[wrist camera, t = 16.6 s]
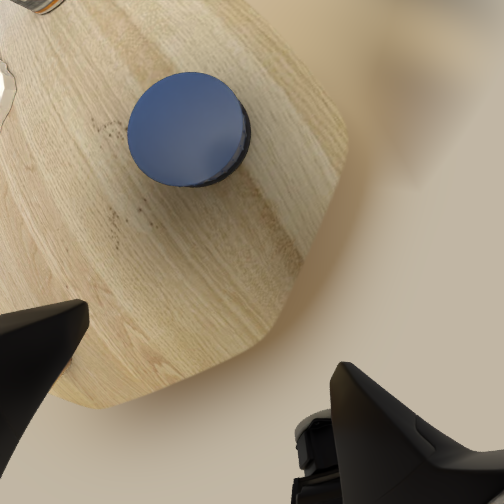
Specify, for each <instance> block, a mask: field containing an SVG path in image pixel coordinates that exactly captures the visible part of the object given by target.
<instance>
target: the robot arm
mask: <svg viewBox="0 0 504 504" xmlns="http://www.w3.org/2000/svg"><path fill="white" fill-rule="evenodd" d="M88 327H89V307H88V303H87V302H85V301H83V300H80V299H75V300H70V301H65V302H60V303H55V304H50V305H45V306H41V307H36V308H31V309H26V310H21V311H16V312H11V313H6V314H1V315H0V478H1V476H2V474H3V472H4V470H5V468H6V466H7V464H8V462H9V460H10V458H11V456H12V454H13V452H14V450H15V448H16V446H17V444H18V443H19V440H20V438H21V437H22V435H23V433H24V431H25V430H26V428H27V426H28V424H29V423H30V421H31V419H32V418H33V416H34V414H35V413H36V411H37V409H38V408H39V406H40V404H41V403H42V401H43V400H44V398H45V396H46V395H47V393H48V392H49V390H50V389H51V387H52V386H53V384H54V382H55V381H56V379H57V378H58V376H59V375H60V374H61V372H62V371H63V369H64V368H65V366H66V365H67V363H68V362H69V360H70V359H71V357H72V356H73V354H74V352H75V350H76V348H77V347H78V345H79V343H80V341H81V339H82V338H83V336H84V334H85V332H86V331H87V329H88ZM330 400H331V418H315V419H313V420H312V421H311V423H310V425H309V426H308V428H307V429H306V431H305V432H303V434H302V436H301V437H300V439H299V440H298V442H297V445H296V449H297V450H298V458H299V467H300V469H301V470H304V473H305V477H302V478H295V479H294V484H293V487H292V498H291V504H504V450H497V451H488V452H477V451H472V450H470V449H468V448H466V447H464V446H463V445H461V444H459V443H458V442H456V441H454V440H453V439H451V438H450V437H448V436H446V435H445V434H443V433H442V432H440V431H439V430H437V429H436V428H434V427H433V426H431V425H430V424H429V423H427V422H426V421H424V420H423V419H422V418H421V417H419V416H418V415H416V414H415V413H414V412H413V411H412V410H410V409H409V408H408V407H406V406H405V405H404V404H403V403H401V402H400V401H399V400H397V399H396V398H395V397H394V396H392V395H391V394H390V393H388V392H387V391H386V390H385V389H383V388H382V387H381V386H380V385H378V384H377V383H376V382H375V381H373V380H372V379H371V378H370V377H368V376H367V375H366V374H365V373H363V372H362V371H361V370H360V369H358V368H357V367H356V366H355V365H354V364H352V363H350V362H340V363H339V364H338V365H337V368H336V370H335V372H334V374H333V376H332V377H331V380H330Z"/></svg>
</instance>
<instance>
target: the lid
mask: <svg viewBox="0 0 504 504" xmlns="http://www.w3.org/2000/svg"><path fill="white" fill-rule="evenodd" d="M242 112H243V111H242V107H241V104H240V101H238V99H237V98H236V96H235V94H234V93H233V92H232V90H231V89H230V88H229V87H228V86H227V85H226V84H224V83H223V82H222V81H220V80H219V79H217V78H215V77H213V76H210V75H207V74H203V73H197V72H185V73H179V74H174V75H171V76H168V77H166V78H164V79H162V80H160V81H158V82H157V83H155V84H154V85H153V86H151V87H150V88H149V89H148V90H147V91H146V92H145V93H144V94H143V95H142V96H141V98H140V99H139V100H138V102H137V103H136V105H135V107H134V109H133V111H132V113H131V116H130V120H129V124H128V135H127V136H128V145H129V149H130V152H131V155H132V157H133V159H134V161H135V163H136V164H137V166H138V167H139V168H140V169H141V170H142V171H143V173H145V174H146V175H147V176H148V177H150V178H151V179H153V180H155V181H157V182H159V183H162V184H165V185H169V186H179V187H183V186H190V185H193V186H197V185H201V184H204V182H207V181H212V180H216V178H217V177H219V176H221V175H222V174H224V173H227V172H228V170H229V169H230V168H231V167H232V166H233V165H234V163H235V162H237V159H238V158H239V156H240V154H241V152H242V150H244V148H243V147H244V143H245V138H246V137H247V135H246V126H245V124H246V120H245V115H243V113H242Z"/></svg>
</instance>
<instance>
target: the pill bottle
mask: <svg viewBox="0 0 504 504" xmlns="http://www.w3.org/2000/svg"><path fill="white" fill-rule="evenodd" d="M10 1H13V2H15V3H17V4H19V5H21V6H23V7H25V8H27V9H29V10H31V11H33V12H35V13H37V14H44V13H47V12H49V11H50V10H52V9H53V8H55V7H56V6H57V5H59V4H60V3H61V2H62V1H63V0H10Z"/></svg>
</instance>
